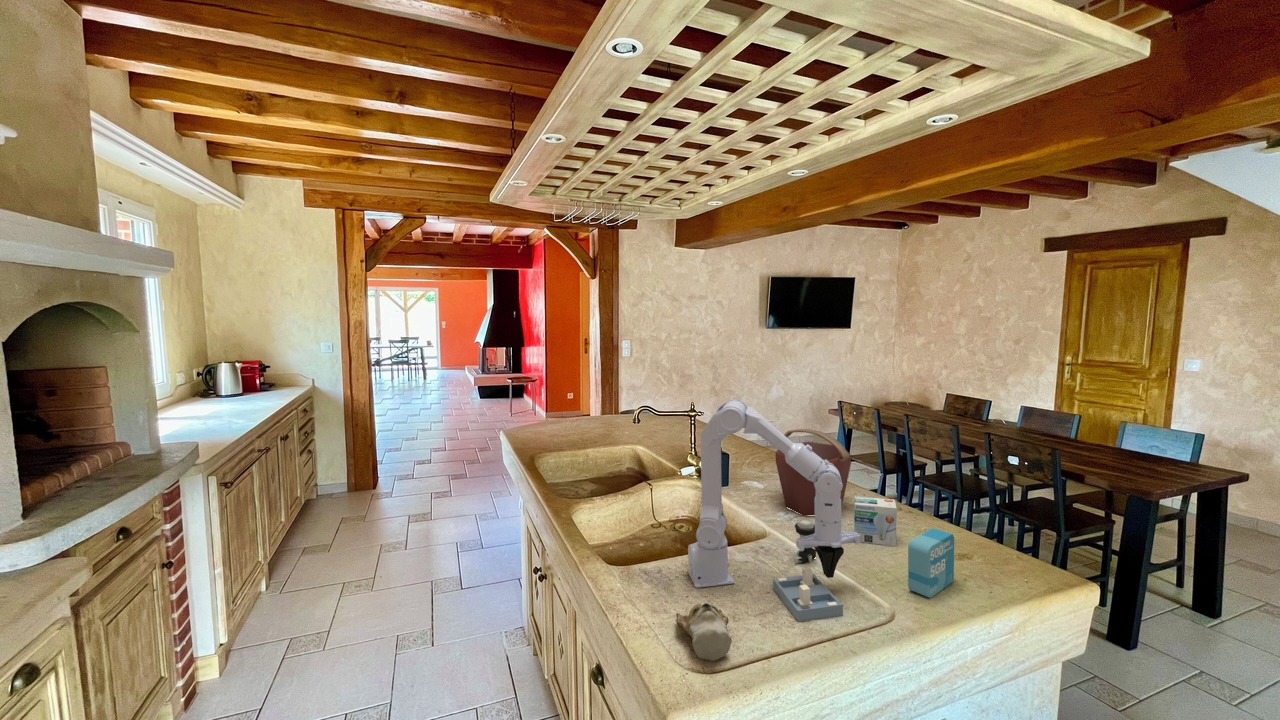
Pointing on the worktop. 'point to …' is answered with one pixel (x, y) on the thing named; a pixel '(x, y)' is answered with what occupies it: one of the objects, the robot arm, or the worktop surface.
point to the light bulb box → (875, 520)
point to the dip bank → (819, 596)
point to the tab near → (804, 596)
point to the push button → (804, 530)
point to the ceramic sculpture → (706, 631)
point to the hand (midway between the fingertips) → (828, 575)
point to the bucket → (797, 486)
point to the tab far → (807, 577)
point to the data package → (931, 562)
